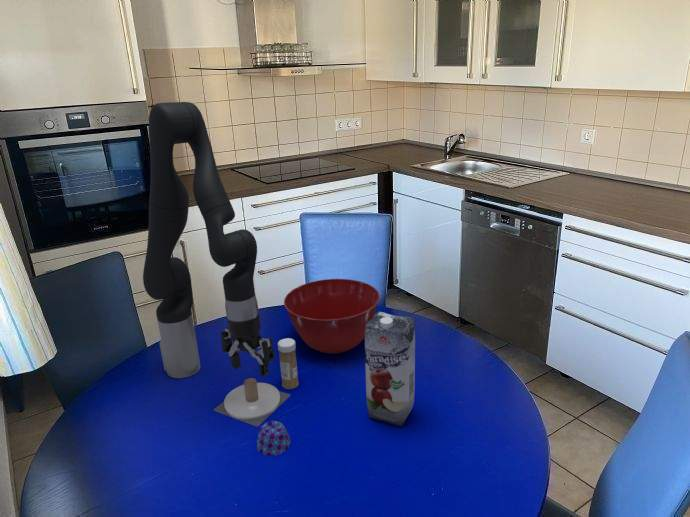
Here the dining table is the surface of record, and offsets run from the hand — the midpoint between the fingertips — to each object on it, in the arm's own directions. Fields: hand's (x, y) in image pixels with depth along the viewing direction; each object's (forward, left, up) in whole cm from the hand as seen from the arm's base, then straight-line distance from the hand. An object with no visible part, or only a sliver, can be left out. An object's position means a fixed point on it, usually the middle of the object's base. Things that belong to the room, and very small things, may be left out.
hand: (250, 371), depth 132 cm
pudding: (+14, -10, -10) cm, 20 cm away
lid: (0, 0, -9) cm, 9 cm away
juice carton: (+33, +12, -10) cm, 36 cm away
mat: (0, 0, -10) cm, 10 cm away
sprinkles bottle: (+4, +11, -10) cm, 15 cm away
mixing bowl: (+3, +36, -10) cm, 37 cm away
